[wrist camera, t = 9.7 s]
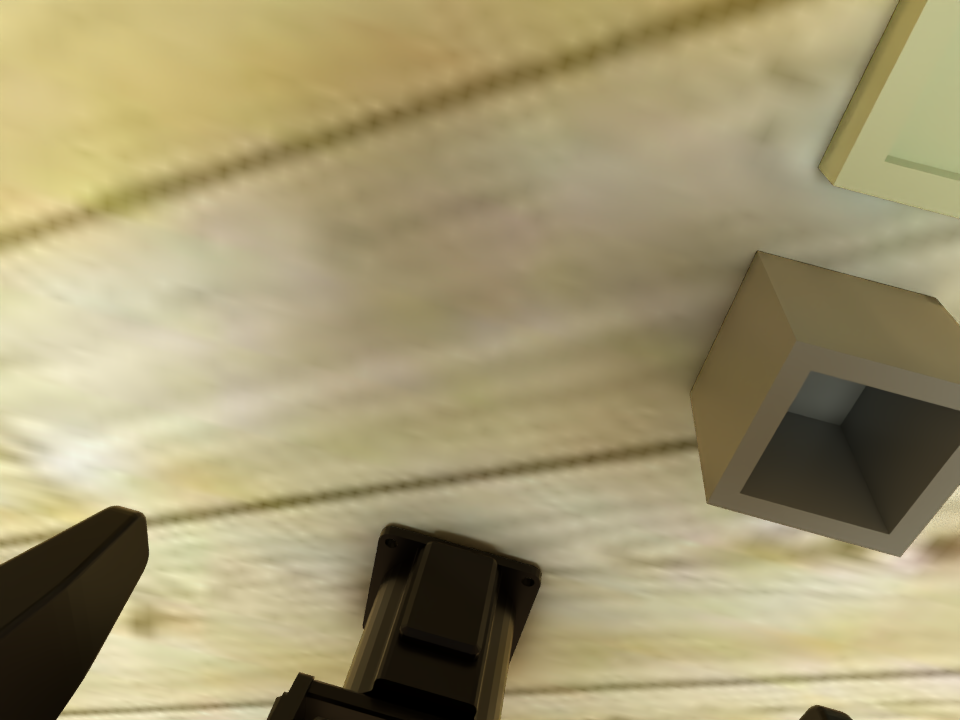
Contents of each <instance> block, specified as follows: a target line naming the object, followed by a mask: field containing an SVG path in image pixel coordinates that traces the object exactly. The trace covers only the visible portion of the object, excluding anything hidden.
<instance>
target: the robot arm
mask: <svg viewBox="0 0 960 720" xmlns="http://www.w3.org/2000/svg"><path fill="white" fill-rule="evenodd" d="M392 539H394V540H392ZM148 557H149V546H148V534H147V523H146V517H145V516H144V514H143V513H141V512H139V511H136V510H132V509H129V508H125V507H122V506H111V507H108V508H106V509H104V510H102V511H100V512H98V513H96V514H95V515H93V516H91V517H89V518H87V519H85V520H83V521H81V522H80V523H78V524H76V525H74V526H72V527H70V528H68V529H66V530H65V531H63V532H61V533H59V534H57V535H55V536H53V537H51V538H50V539H48V540H46V541H44V542H42V543H40V544H38V545H36V546H35V547H33V548H31V549H29V550H27V551H25V552H23V553H21V554H20V555H18V556H16V557H14V558H12V559H10V560H8V561H6V562H5V563H3V564H1V565H0V720H56V719H57V718H58V716H59V715H60V713H61V712H62V711H63V709H64V708H65V706H66V705H67V703H68V702H69V700H70V699H71V697H72V696H73V695H74V693H75V691H76V690H77V688H78V687H79V685H80V684H81V682H82V681H83V679H84V678H85V676H86V674H87V673H88V671H89V669H90V667H91V666H92V664H93V662H94V661H95V659H96V657H97V655H98V653H99V652H100V650H101V648H102V646H103V644H104V642H105V641H106V639H107V637H108V635H109V633H110V632H111V630H112V628H113V626H114V624H115V622H116V621H117V619H118V617H119V615H120V613H121V612H122V610H123V608H124V606H125V604H126V602H127V601H128V599H129V597H130V595H131V593H132V592H133V590H134V588H135V586H136V584H137V583H138V581H139V579H140V577H141V575H142V573H143V572H144V570H145V567H146V565H147V561H148ZM526 577H527V578H526ZM541 577H542V574H541V571H540V570H539V569H538V568H536V567H534V566H532V565H528V564H525V563H521V562H518V561H514V560H511V559H507V558H503V557H500V556H496V555H493V554H489V553H486V552H482V551H479V550H475V549H472V548H468V547H465V546H461V545H457V544H454V543H450V542H447V541H443V540H440V539H436V538H433V537H429V536H426V535H422V534H419V533H415V532H412V531H408V530H404V529H401V528H397V527H392V526H390V527H386V528H384V529H383V531H382V533H381V535H380V538H379V541H378V546H377V552H376V557H375V562H374V568H373V573H372V578H371V584H370V589H369V594H368V600H367V605H366V610H365V616H364V621H363V629H364V631H363V634H362V637H361V639H360V642H359V645H358V648H357V650H356V653H355V656H354V659H353V661H352V664H351V667H350V669H349V672H348V675H347V678H346V680H345V683H344V686H343V688H342V687H338V686H335V685H331V684H328V683H324V682H321V681H318V680H314V676H311V675H307V674H304V673H301V672H299V673H298V675H297V677H296V679H295V681H294V683H293V685H292V687H291V688H290V690H289V692H288V693H287V692H284V693H283V695H282V696H280V697H277V698H276V700H275V702H274V705H273V707H272V709H271V711H270V714H269V716H268V718H267V720H500V719H501V712H502V706H503V699H504V692H505V686H506V679H507V672H508V666H509V663H510V661H511V658H512V656H513V653H514V651H515V648H516V646H517V643H518V641H519V638H520V636H521V633H522V631H523V628H524V626H525V623H526V621H527V618H528V616H529V613H530V610H531V608H532V605H533V603H534V600H535V598H536V595H537V593H538V590H539V588H540V585H541ZM530 578H531V579H530ZM799 720H852V719H851V718H850V717H849V716H848V715H847V714H845V713H843V712H841V711H838V710H834V709H831V708H827V707H824V706H820V705H815V706H812V707H810V708H809V709H808V710H807V711H806V712H805V714H804V715H803V716H802V717H801V718H800V719H799Z"/></svg>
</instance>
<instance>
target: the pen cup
mask: <svg viewBox="0 0 960 720" xmlns="http://www.w3.org/2000/svg"><path fill="white" fill-rule="evenodd" d="M690 398H691V404H692V411H693V417H694V424H695V430H696V437H697V443H698V450H699V456H700V462H701V469H702V475H703V482H704V488H705V495H706V501H707V504H710V505H714V506H717V507H721V508H725V509H728V510H732V511H735V512H739V513H743V514H746V515H750V516H753V517H757V518H761V519H764V520H768V521H771V522H775V523H779V524H782V525H786V526H789V527H793V528H797V529H800V530H804V531H807V532H811V533H815V534H818V535H822V536H825V537H829V538H833V539H836V540H840V541H843V542H847V543H851V544H854V545H858V546H861V547H865V548H869V549H872V550H876V551H879V552H883V553H887V554H890V555H894V556H897V557H901V556H902V555H903V553H904V552H905V551H906V550H907V548H908V547H909V546H910V545H911V544H912V542H913V541H914V540H915V539H916V537H917V536H918V535H919V534H920V533H921V531H922V530H923V529H924V528H925V526H926V525H927V524H928V523H929V522H930V520H931V519H932V518H933V517H934V515H935V514H936V513H937V512H938V511H939V509H940V508H941V507H942V506H943V504H944V503H945V502H946V501H947V500H948V498H949V497H950V496H951V495H952V493H953V492H954V491H955V490H956V489H957V487H958V486H959V485H960V325H959V324H958V323H957V322H956V321H955V319H954V318H953V317H952V316H951V315H950V314H949V312H948V311H947V310H946V309H945V308H944V307H943V306H942V304H941V303H940V302H939V301H938V300H937V299H936V298H934V297H930V296H926V295H922V294H919V293H915V292H911V291H907V290H904V289H900V288H896V287H892V286H889V285H885V284H881V283H877V282H873V281H870V280H866V279H862V278H858V277H855V276H851V275H847V274H843V273H840V272H836V271H832V270H828V269H825V268H821V267H817V266H813V265H809V264H806V263H802V262H798V261H794V260H791V259H787V258H783V257H779V256H776V255H772V254H768V253H764V252H761V251H757V252H756V254H755V256H754V259H753V261H752V263H751V265H750V267H749V269H748V271H747V273H746V276H745V278H744V280H743V282H742V284H741V286H740V288H739V290H738V292H737V295H736V297H735V299H734V301H733V303H732V305H731V307H730V309H729V312H728V314H727V316H726V318H725V320H724V322H723V324H722V326H721V328H720V331H719V333H718V335H717V337H716V339H715V341H714V343H713V345H712V348H711V350H710V352H709V354H708V356H707V358H706V360H705V362H704V364H703V367H702V369H701V371H700V373H699V375H698V377H697V379H696V381H695V384H694V386H693V388H692V390H691V392H690Z"/></svg>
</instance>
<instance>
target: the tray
mask: <svg viewBox="0 0 960 720" xmlns="http://www.w3.org/2000/svg"><path fill="white" fill-rule="evenodd" d="M818 168H819V169H820V171H821V172H822V173H823V174H824V175H825V176H826V178H827V179H828V180H829V181H830V182H831V184H832V185H833V186H837V187H840V188H844V189H848V190H852V191H856V192H859V193H863V194H867V195H871V196H875V197H879V198H882V199H886V200H890V201H894V202H898V203H901V204H905V205H909V206H913V207H917V208H921V209H924V210H928V211H932V212H936V213H940V214H943V215H947V216H951V217H955V218H959V219H960V0H900V1H899V3H898V5H897V7H896V9H895V11H894V13H893V16H892V18H891V20H890V22H889V24H888V26H887V28H886V30H885V32H884V34H883V36H882V38H881V40H880V42H879V44H878V46H877V48H876V50H875V52H874V54H873V56H872V58H871V60H870V62H869V64H868V67H867V69H866V71H865V73H864V75H863V77H862V79H861V81H860V83H859V85H858V87H857V89H856V91H855V93H854V95H853V97H852V99H851V101H850V103H849V105H848V107H847V109H846V111H845V113H844V116H843V118H842V120H841V122H840V124H839V126H838V128H837V130H836V132H835V134H834V136H833V138H832V140H831V142H830V144H829V146H828V148H827V150H826V152H825V154H824V156H823V158H822V160H821V162H820V165H819V167H818Z"/></svg>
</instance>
